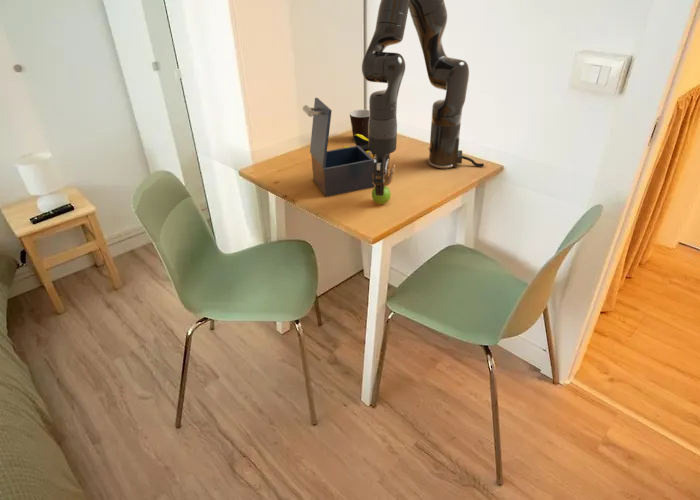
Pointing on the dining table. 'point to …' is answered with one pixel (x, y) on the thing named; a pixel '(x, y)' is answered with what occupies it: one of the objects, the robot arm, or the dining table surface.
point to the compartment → (344, 171)
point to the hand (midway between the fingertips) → (381, 188)
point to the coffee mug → (360, 122)
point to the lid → (319, 130)
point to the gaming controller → (362, 144)
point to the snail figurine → (387, 192)
